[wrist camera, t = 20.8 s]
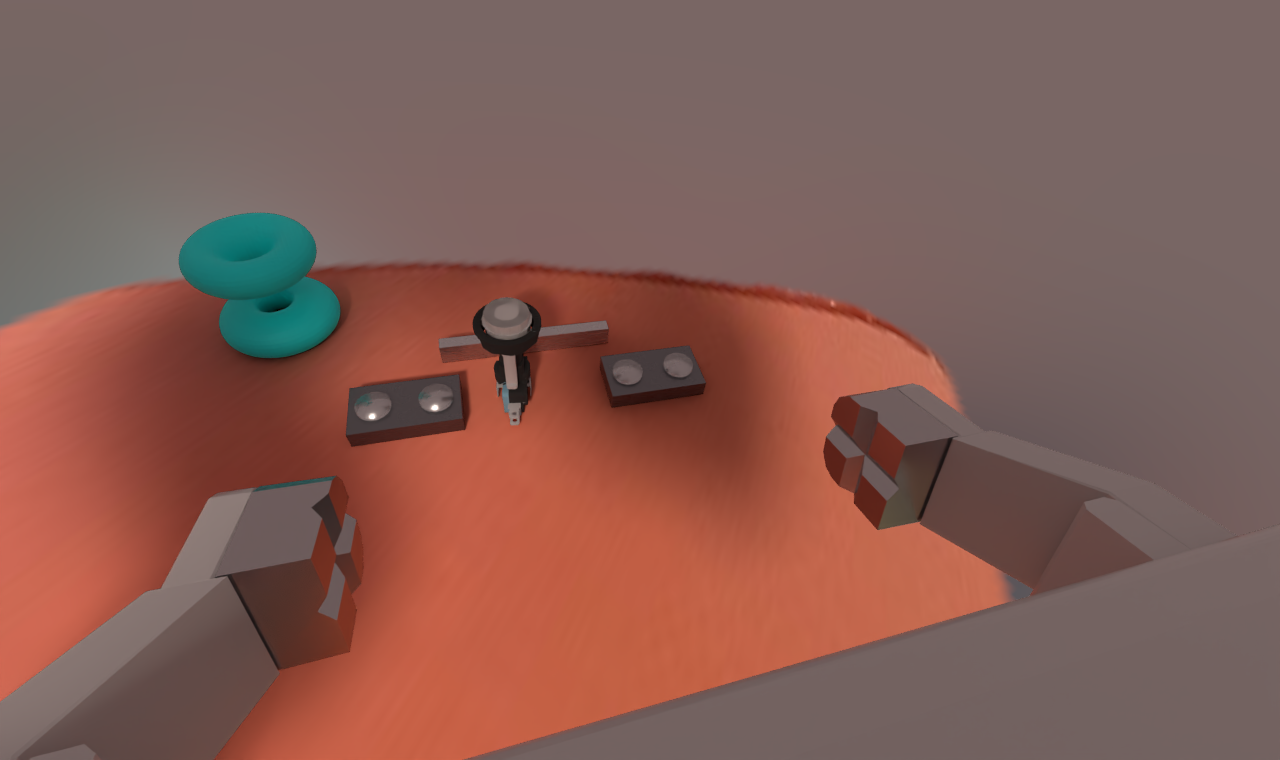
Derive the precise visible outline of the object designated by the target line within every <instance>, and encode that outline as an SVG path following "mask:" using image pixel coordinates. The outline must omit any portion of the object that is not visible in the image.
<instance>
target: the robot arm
mask: <svg viewBox="0 0 1280 760" xmlns="http://www.w3.org/2000/svg"><path fill="white" fill-rule="evenodd" d="M831 418H832V419H833V421H834V423H835V425H836V426H835V427H834V428H833V429H832V430H831V432H830V433H829V434H828V435H827V436H826V440H825V445H824V450H823V453H824V459H825V464H826V468H827V470H828V472H829V474H830V476H831V477H832V478H833V480H834V481H835V482H836V483H837V484H838V486H840V487H842V488H844V489H846V490H848V491H850V492H852V493H854V504H855V505H856V506H857V507H858V509H859V510H860V511H861V512H862V513H863V514H864V515H865V516H866V518H867V519H868V520H869V521H870V522H871V523H872V524H873V526H874V527H875V528H876V529H877V530H880V529H885V528H890V527H895V526H900V525H905V524H910V523H915V522H920V521H921V522H920V524H921V525H922V526H924V527H926V528H928V529H929V530H931V531H933V532H935V533H936V534H938V535H940V536H942V537H943V538H945V539H947V540H949V541H950V542H952V543H954V544H956V545H957V546H959V547H961V548H963V549H964V550H966V551H968V552H969V553H971V554H973V555H975V556H976V557H978V558H980V559H982V560H983V561H985V562H987V563H989V564H990V565H992V566H994V567H996V568H997V569H999V570H1001V571H1003V572H1004V573H1006V574H1008V575H1010V576H1011V577H1013V578H1015V579H1017V580H1018V581H1020V582H1022V583H1023V584H1025V585H1027V586H1029V587H1030V588H1032V589H1033V591H1032V593H1031V595H1030V596H1029V597H1026V598H1022V599H1018V600H1015V601H1012V602H1008V603H1005V604H1001V605H998V606H994V607H991V608H987V609H984V610H980V611H977V612H973V613H970V614H967V615H963V616H960V617H956V618H953V619H949V620H946V621H942V622H939V623H935V624H932V625H928V626H925V627H922V628H918V629H915V630H911V631H908V632H904V633H901V634H897V635H894V636H890V637H887V638H884V639H880V640H877V641H873V642H870V643H866V644H863V645H859V646H856V647H852V648H849V649H846V650H842V651H839V652H835V653H832V654H828V655H825V656H821V657H818V658H814V659H811V660H808V661H804V662H801V663H797V664H794V665H790V666H787V667H783V668H780V669H776V670H773V671H770V672H766V673H763V674H759V675H756V676H752V677H749V678H745V679H742V680H738V681H735V682H732V683H728V684H725V685H721V686H718V687H714V688H711V689H707V690H704V691H700V692H697V693H693V694H690V695H686V696H683V697H680V698H676V699H673V700H669V701H666V702H662V703H659V704H655V705H652V706H648V707H645V708H641V709H638V710H634V711H631V712H627V713H624V714H620V715H617V716H614V717H610V718H607V719H603V720H600V721H596V722H593V723H589V724H586V725H582V726H579V727H575V728H572V729H568V730H565V731H561V732H558V733H554V734H551V735H548V736H544V737H541V738H537V739H534V740H530V741H527V742H523V743H520V744H516V745H513V746H509V747H506V748H502V749H499V750H495V751H492V752H488V753H485V754H482V755H478V756H475V757H471V758H468V759H464V760H1280V524H1278V525H1274V526H1271V527H1267V528H1264V529H1260V530H1257V531H1254V532H1250V533H1247V534H1243V535H1240V536H1237V535H1236V534H1234V533H1233V532H1231V531H1229V530H1228V529H1226V528H1225V527H1223V526H1222V525H1220V524H1218V523H1217V522H1215V521H1214V520H1212V519H1210V518H1209V517H1207V516H1205V515H1204V514H1202V513H1201V512H1199V511H1198V510H1196V509H1194V508H1193V507H1191V506H1190V505H1188V504H1186V503H1185V502H1183V501H1182V500H1180V499H1179V498H1177V497H1175V496H1174V495H1172V494H1171V493H1169V492H1168V491H1166V490H1164V489H1163V488H1161V487H1160V486H1158V485H1157V484H1155V483H1152V482H1149V481H1146V480H1143V479H1140V478H1137V477H1134V476H1131V475H1128V474H1124V473H1121V472H1118V471H1115V470H1112V469H1109V468H1106V467H1103V466H1100V465H1097V464H1094V463H1090V462H1087V461H1084V460H1081V459H1078V458H1075V457H1072V456H1069V455H1066V454H1063V453H1060V452H1057V451H1054V450H1051V449H1047V448H1044V447H1041V446H1038V445H1035V444H1032V443H1029V442H1026V441H1023V440H1020V439H1017V438H1014V437H1011V436H1007V435H1004V434H1001V433H998V432H995V431H988V432H985V431H983V430H982V429H981V428H979V427H978V426H977V425H975V424H974V423H972V422H971V421H969V420H968V419H967V418H966V417H964V416H963V415H961V414H960V413H959V412H957V411H956V410H954V409H953V408H952V407H950V406H949V405H948V404H946V403H945V402H943V401H942V400H941V399H939V398H938V397H937V396H935V395H934V394H932V393H931V392H930V391H928V390H927V389H926V388H924V387H923V386H920V385H916V384H908V385H903V386H897V387H892V388H888V389H886V390H880V391H874V392H867V393H861V394H855V395H849V396H843V397H839V399H838V400H837V401H836V403H835V404H834V407H833V410H832V414H831ZM348 498H349V497H348V494H347V491H346V489H345V486H344V483H343V481H342V479H340V478H339V477H337V476H332V477H325V478H317V479H310V480H303V481H296V482H288V483H281V484H274V485H266V486H259V487H258V488H247V489H240V490H234V491H227V492H220V493H217V494H215V495H214V496H212V497H210V498H209V499H208V500H207V502H206V504H205V506H204V508H203V510H202V511H201V513H200V515H199V517H198V519H197V521H196V523H195V525H194V527H193V528H192V530H191V532H190V534H189V536H188V538H187V540H186V542H185V543H184V545H183V547H182V549H181V551H180V553H179V555H178V557H177V559H176V560H175V562H174V564H173V566H172V568H171V570H170V572H169V574H168V575H167V577H166V579H165V581H164V583H163V585H162V587H161V589H156V590H151V591H146V592H145V593H143V594H142V595H141V596H139V597H138V598H137V599H136V600H134V601H133V602H132V603H130V604H129V605H128V606H126V607H125V608H124V609H122V610H121V611H120V612H118V613H117V614H116V615H114V616H113V617H112V618H110V619H109V620H108V621H106V622H105V623H104V624H103V625H101V626H100V627H99V628H97V629H96V630H95V631H93V632H92V633H91V634H89V635H88V636H87V637H85V638H84V639H83V640H81V641H80V642H79V643H77V644H76V645H75V646H73V647H72V648H71V649H69V650H68V651H67V652H66V653H64V654H63V655H62V656H60V657H59V658H58V659H56V660H55V661H54V662H52V663H51V664H50V665H48V666H47V667H46V668H44V669H43V670H42V671H40V672H39V673H38V674H36V675H35V676H34V677H32V678H31V679H30V680H29V681H27V682H26V683H25V684H23V685H22V686H21V687H19V688H18V689H17V690H15V691H14V692H13V693H11V694H10V695H9V696H7V697H6V698H5V699H3V700H2V701H1V702H0V760H214V758H215V757H216V756H217V754H218V753H219V752H220V751H221V749H222V748H223V747H224V745H225V744H226V743H227V741H228V740H229V739H230V738H231V736H232V735H233V734H234V732H235V731H236V730H237V728H238V727H239V726H240V725H241V723H242V722H243V721H244V719H245V718H246V717H247V715H248V714H249V713H250V712H251V710H252V709H253V708H254V706H255V705H256V704H257V703H258V701H259V700H260V699H261V697H262V696H263V695H264V693H265V692H266V691H267V690H268V688H269V687H270V686H271V684H272V683H273V682H274V680H275V679H276V678H277V677H278V675H279V671H278V670H281V669H285V668H289V667H293V666H297V665H301V664H304V663H308V662H312V661H316V660H320V659H324V658H328V657H332V656H336V655H339V654H343V653H347V652H350V648H351V642H352V636H353V630H354V624H355V618H356V612H357V609H356V606H355V603H354V600H353V598H352V595H351V594H352V593H353V592H354V591H355V590H356V589H357V588H358V587H359V585H360V584H361V581H362V574H363V567H364V566H363V544H362V538H361V533H360V530H359V526H358V523H357V520H356V519H354V518H353V517H351V516H349V515H348V514H346V508H347V503H348Z"/></svg>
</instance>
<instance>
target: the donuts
mask: <svg viewBox="0 0 1280 760" xmlns="http://www.w3.org/2000/svg"><path fill="white" fill-rule="evenodd" d="M315 258H316V244H315V241H314V239H313V237H312V235H311V234H310V232H309V231H308V230H307V229H306V228H305V227H304V226H302V225H301V224H300V223H298V222H297V221H295V220H292V219H290V218H288V217H285V216H281V215H277V214H270V213H247V214H240V215H234V216H230V217H226V218H223V219H219V220H217V221H214V222H212V223H210V224H208V225H206V226H204V227H202V228H200V229H199V230H197V231H196V232H195V233H194V234H193V235H191V236H190V237H189V238H188V239H187V241H186V242H185V243H184V245H183V246H182V248H181V251H180V254H179V266H180V270H181V272H182V274H183V276H184V277H185V279H186V280H187V281H188V282H189V283H190V284H191V285H192V286H193V287H195V288H196V289H198V290H200V291H201V292H203V293H206V294H208V295H211V296H214V297H218V298H223V299H229V300H228V301H227V302H226V303H225V305H224V307H223V309H222V311H221V313H220V317H219V328H220V331H221V334H222V336H223V338H224V339H225V340H226V342H227V343H228V344H229V345H230V346H232V347H233V348H234V349H236V350H237V351H239V352H241V353H244V354H246V355H250V356H253V357H259V358H281V357H287V356H292V355H295V354H299V353H302V352H304V351H307V350H309V349H311V348H313V347H315V346H316V345H318V344H319V343H321V342H322V341H324V340H325V339H326V338H327V337H328V336H329V335H330V334H331V333H332V332H333V330H334V329H335V328H336V326H337V324H338V321H339V318H340V304H339V301H338V298H337V297H336V295H335V294H334V292H333V291H332V290H331V289H330V288H329V287H327V286H326V285H325V284H323V283H321V282H319V281H317V280H315V279H312V278H309V277H305V276H306V274H307V273H308V272H309V271H310V269H311V268H312V266H313V264H314V262H315ZM285 307H287V308H285ZM281 308H285V309H283V310H280V311H276V312H273V311H275V310H278V309H281Z"/></svg>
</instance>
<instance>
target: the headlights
mask: <svg viewBox="0 0 1280 760" xmlns="http://www.w3.org/2000/svg"><path fill="white" fill-rule="evenodd" d="M608 330H609V328H608V325H607V322H606V321H597V322H588V323H579V324H570V325H561V326H552V327H543V328H541V329H540V332H539V336H538V340H537V342H536V343H535V344H534V345H533V346H532V347H530V348H529V349H528V350H527V351H525V352H524V353H529V352H537V351H545V350H553V349H562V348H570V347H578V346H587V345H595V344H603V343H608ZM439 349H440V353H441V358H442V362H443V363H446V362H454V361H462V360H471V359H479V358H487V357H495V356H499V354H492V353H490V352H489V351H487V350H485V349H484V348H483V347H482V344H481V342H480V340H479V339H478V338H477V336H476V335H470V336H461V337H452V338H443V339H439ZM600 370H601V373H602V377H603V380H604V383H605V387H606V390H607V394H608V397H609V400H610V404H611V407H619V406H625V405H632V404H639V403H645V402H652V401H659V400H665V399H672V398H679V397H685V396H692V395H699V394H703V392H704V388H705V385H706V382H705V380H704V377H703V375H702V373H701V371H700V368H699V366H698V364H697V362H696V360H695V357H694V355H693V353H692V351H691V348H690V346H681V347H673V348H665V349H657V350H649V351H641V352H633V353H625V354H617V355H609V356H602V357H601V359H600ZM459 430H465V422H464V411H463V399H462V387H461V382H460V377H459V375H451V376H443V377H435V378H427V379H420V380H412V381H404V382H396V383H388V384H380V385H372V386H364V387H356V388H350V390H349V403H348V415H347V428H346V437H347V438H348V440H349V442H350V444H351V446H352V447H353V446H359V445H366V444H372V443H379V442H386V441H392V440H399V439H406V438H412V437H419V436H426V435H432V434H439V433H446V432H452V431H459Z"/></svg>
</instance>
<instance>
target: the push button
mask: <svg viewBox="0 0 1280 760" xmlns="http://www.w3.org/2000/svg"><path fill="white" fill-rule="evenodd" d="M530 325H531V327H532V329H530ZM540 329H541V317H540V315H539V313H538V311H537V310H536V309H535V308H534V307H532V306H531V305H529V304H527V303H525V302H522V301H521V300H519V299H514V298H508V297H506V298H500V299H495V300H493V301H491V302H490V303H489V304H487V305H485V306H484V307H482V308H481V309H480V310H479V311H478V312H477V313H476V315H475V316H474V319H473V330H474V333H475V335H476V336H477V338H478V339H479V340H480V342H481V344H482V347H483V348H484V349H485V350H487V351H489V352H490V353H492V354H499V361H496V363H495V365H494V372H495V378H496V380H497V387H496V388H497V395H498V397H499V388H502V387H503V389H502V398H503V403H504V410H505V412H509V418H510V425H519V422H520V415H521V412H524V405H528V392H527V387H530V396H531V377H530V364H529V361H528V360H527V356H523V353H524V352H525V351H527V350H528V349H529V348H530V347H532V346H533V345H534V344H535V343H536V342H537V340H538V336H539V332H540ZM484 330H486V334H485V333H484ZM513 419H517V421H516V422H513Z"/></svg>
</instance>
